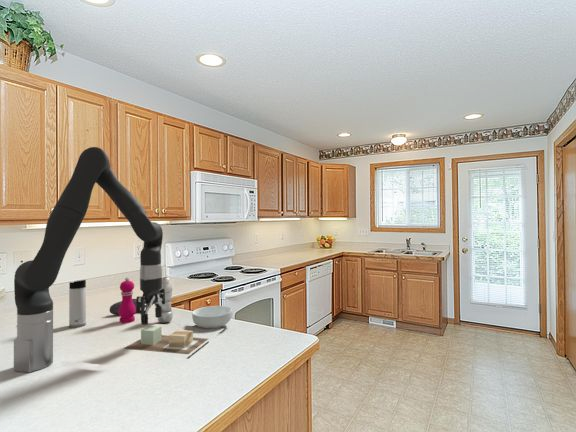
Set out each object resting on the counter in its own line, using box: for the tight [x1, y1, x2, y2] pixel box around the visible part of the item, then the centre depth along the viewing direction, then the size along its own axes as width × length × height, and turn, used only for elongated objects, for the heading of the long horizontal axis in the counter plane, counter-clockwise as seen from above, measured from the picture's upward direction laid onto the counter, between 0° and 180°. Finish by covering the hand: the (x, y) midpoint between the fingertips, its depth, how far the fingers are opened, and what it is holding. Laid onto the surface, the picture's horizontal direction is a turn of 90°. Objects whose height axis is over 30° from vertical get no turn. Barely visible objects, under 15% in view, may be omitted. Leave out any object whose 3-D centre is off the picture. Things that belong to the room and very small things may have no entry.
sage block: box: [140, 325, 162, 345], centre depth 125 cm, size 5×5×5 cm
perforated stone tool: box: [109, 298, 141, 316], centre depth 169 cm, size 15×5×7 cm, turn 117°
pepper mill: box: [118, 277, 137, 324], centre depth 156 cm, size 7×7×20 cm
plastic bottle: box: [156, 276, 173, 324], centre depth 154 cm, size 6×7×20 cm
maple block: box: [168, 329, 194, 348], centre depth 122 cm, size 6×6×4 cm
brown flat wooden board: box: [122, 334, 210, 360], centre depth 123 cm, size 15×25×2 cm, turn 77°
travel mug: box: [68, 279, 87, 329], centre depth 150 cm, size 6×7×20 cm
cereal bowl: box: [191, 305, 233, 329], centre depth 147 cm, size 17×17×7 cm
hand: (151, 320), depth 126 cm, fingers open, 8 cm apart
